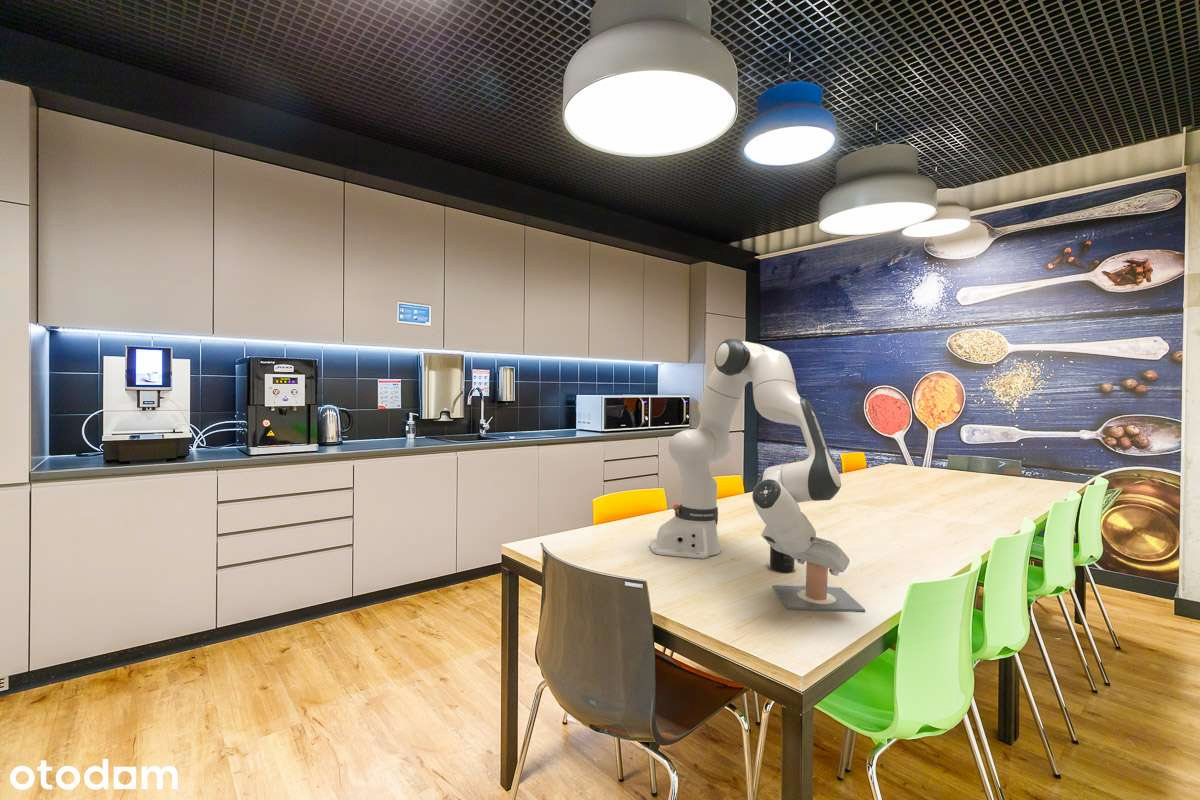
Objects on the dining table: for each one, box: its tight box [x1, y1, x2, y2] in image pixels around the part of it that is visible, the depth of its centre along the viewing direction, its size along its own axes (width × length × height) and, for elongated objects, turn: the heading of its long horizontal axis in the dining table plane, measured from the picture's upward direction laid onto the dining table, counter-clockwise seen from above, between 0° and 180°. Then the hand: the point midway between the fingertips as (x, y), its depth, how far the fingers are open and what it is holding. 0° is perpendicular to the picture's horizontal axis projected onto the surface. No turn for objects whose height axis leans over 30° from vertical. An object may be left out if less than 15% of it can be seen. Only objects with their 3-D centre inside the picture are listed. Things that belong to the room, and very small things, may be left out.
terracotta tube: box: [805, 561, 829, 600], centre depth 137 cm, size 5×5×12 cm
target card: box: [771, 584, 866, 612], centre depth 137 cm, size 18×14×1 cm
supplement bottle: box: [769, 545, 796, 573], centre depth 159 cm, size 7×7×12 cm
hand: (818, 567), depth 137 cm, fingers open, 8 cm apart
